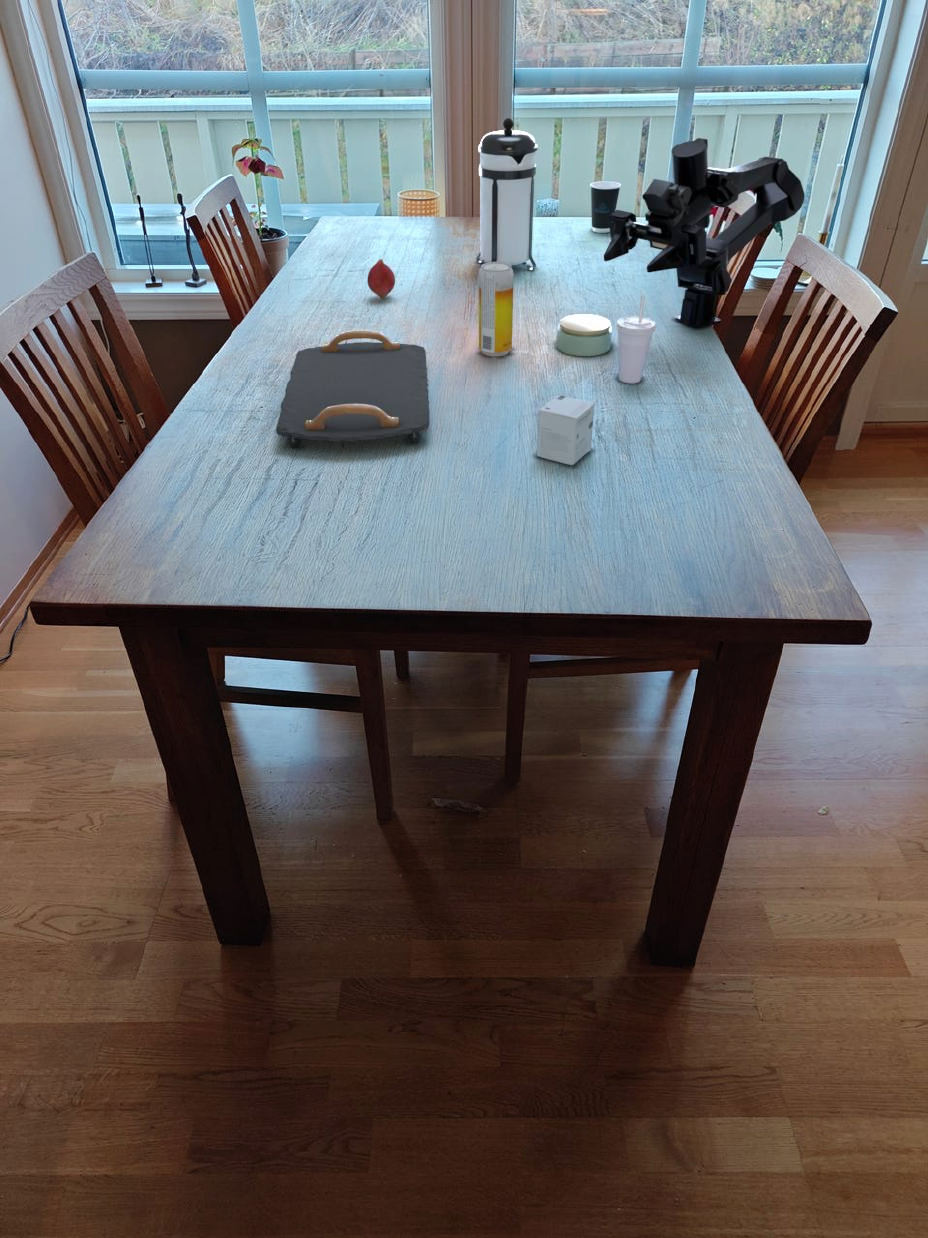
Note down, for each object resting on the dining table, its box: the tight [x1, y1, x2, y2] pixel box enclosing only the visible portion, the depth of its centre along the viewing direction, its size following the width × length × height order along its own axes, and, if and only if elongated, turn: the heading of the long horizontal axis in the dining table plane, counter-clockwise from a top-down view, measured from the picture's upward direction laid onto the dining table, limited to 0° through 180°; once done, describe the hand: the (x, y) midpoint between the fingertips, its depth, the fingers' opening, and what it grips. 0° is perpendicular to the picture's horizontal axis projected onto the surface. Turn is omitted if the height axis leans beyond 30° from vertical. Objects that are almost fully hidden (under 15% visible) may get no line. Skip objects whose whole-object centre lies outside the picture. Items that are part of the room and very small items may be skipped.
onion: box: [367, 258, 396, 299], centre depth 176 cm, size 6×6×8 cm
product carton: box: [536, 394, 595, 466], centre depth 120 cm, size 6×6×7 cm
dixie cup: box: [589, 180, 622, 234], centre depth 217 cm, size 8×8×11 cm
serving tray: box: [275, 329, 430, 449], centre depth 135 cm, size 39×23×6 cm, turn 3°
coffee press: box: [475, 117, 539, 271], centre depth 188 cm, size 17×16×30 cm
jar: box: [555, 313, 613, 357], centre depth 154 cm, size 10×10×4 cm
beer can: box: [478, 262, 515, 357], centre depth 149 cm, size 6×6×15 cm
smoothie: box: [615, 294, 657, 384], centre depth 139 cm, size 6×6×14 cm
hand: (625, 263), depth 142 cm, fingers open, 9 cm apart
